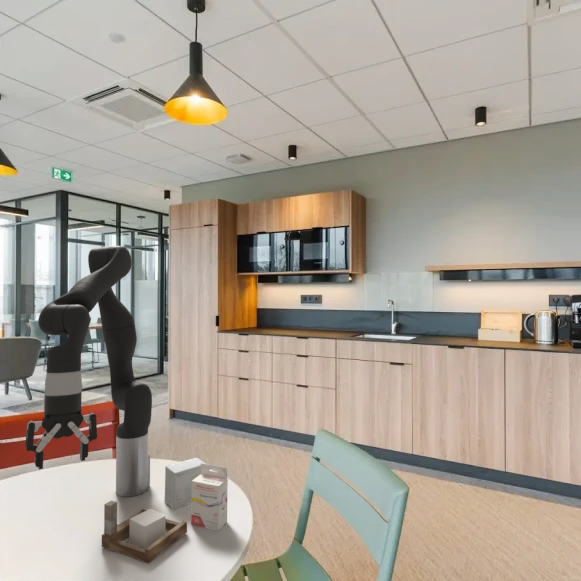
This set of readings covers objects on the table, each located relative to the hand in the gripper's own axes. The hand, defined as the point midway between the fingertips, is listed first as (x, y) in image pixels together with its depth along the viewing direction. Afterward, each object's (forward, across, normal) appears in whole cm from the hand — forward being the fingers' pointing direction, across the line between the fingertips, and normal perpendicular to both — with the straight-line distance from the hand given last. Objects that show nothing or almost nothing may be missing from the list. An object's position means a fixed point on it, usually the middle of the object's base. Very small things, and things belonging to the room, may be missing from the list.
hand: (61, 464), depth 96 cm
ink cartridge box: (+22, -34, +4) cm, 41 cm away
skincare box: (+21, -35, -12) cm, 42 cm away
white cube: (+22, -19, +2) cm, 29 cm away
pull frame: (+22, -19, +2) cm, 29 cm away
